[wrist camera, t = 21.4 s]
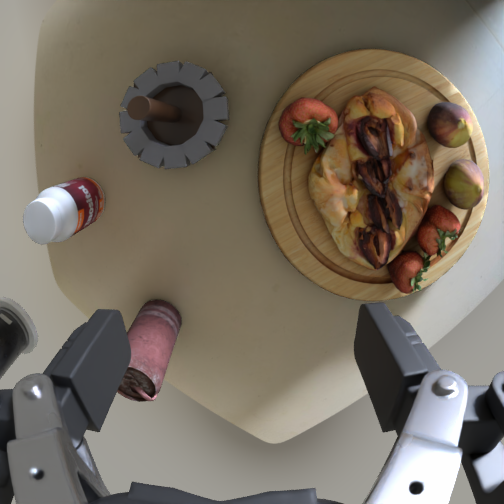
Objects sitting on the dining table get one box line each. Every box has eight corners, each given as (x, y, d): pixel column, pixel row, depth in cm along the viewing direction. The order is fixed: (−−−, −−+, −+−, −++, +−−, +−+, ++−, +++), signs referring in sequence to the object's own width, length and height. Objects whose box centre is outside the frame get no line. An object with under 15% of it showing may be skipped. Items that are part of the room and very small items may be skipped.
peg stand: (141, 156, 35) (93, 169, 23) (137, 84, 32) (88, 67, 20) (216, 149, 35) (197, 157, 23) (212, 74, 31) (193, 46, 20)
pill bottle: (110, 219, 38) (68, 250, 27) (73, 224, 38) (26, 254, 28) (102, 172, 35) (54, 188, 25) (64, 180, 36) (12, 199, 25)
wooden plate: (200, 178, 36) (185, 191, 28) (380, 7, 27) (407, -16, 20) (369, 333, 44) (386, 369, 36) (508, 188, 35) (544, 202, 28)
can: (168, 342, 44) (144, 412, 31) (133, 316, 43) (97, 382, 30) (192, 317, 43) (171, 389, 30) (155, 289, 41) (120, 355, 28)
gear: (132, 171, 34) (125, 174, 32) (125, 76, 30) (116, 72, 28) (232, 161, 34) (230, 163, 32) (225, 59, 30) (223, 54, 27)
